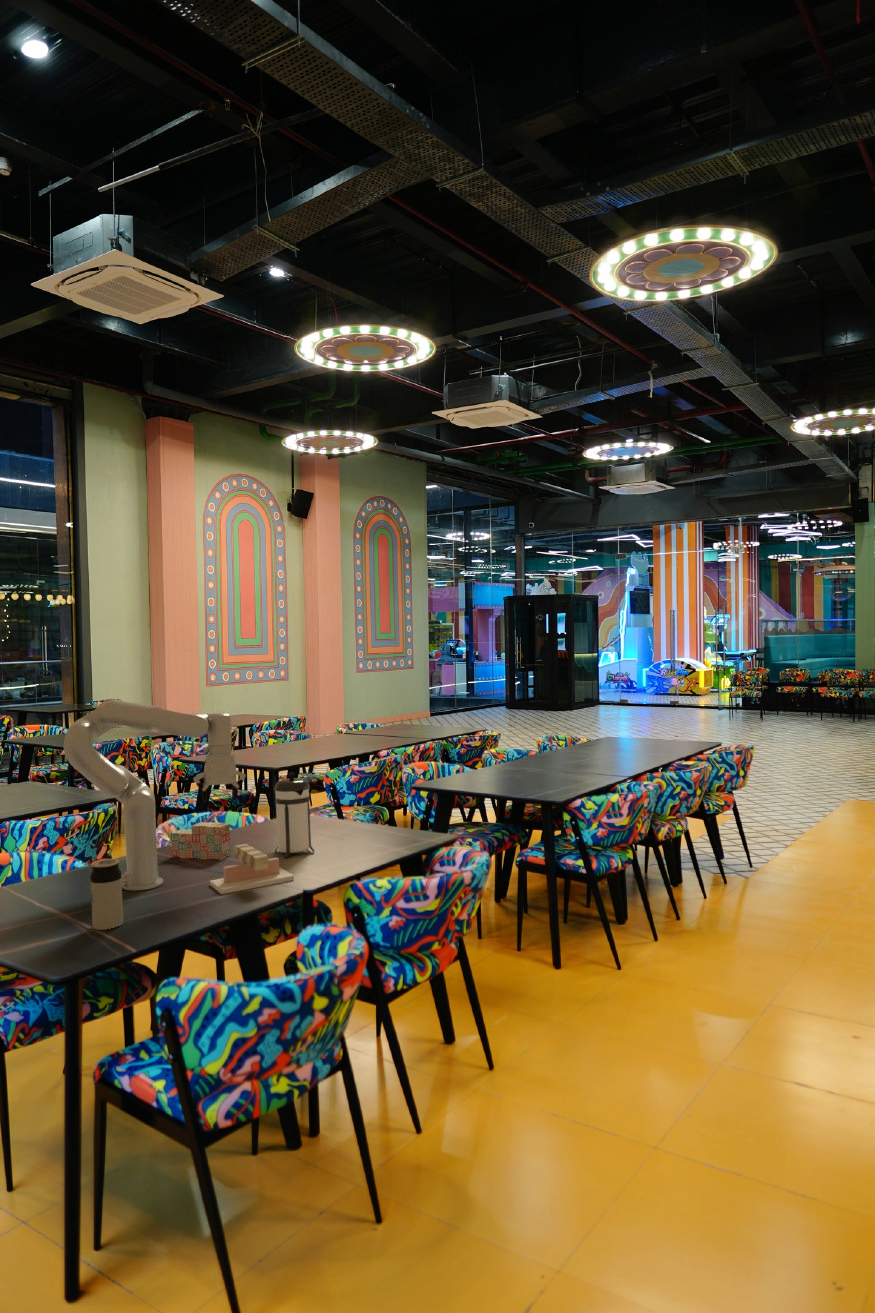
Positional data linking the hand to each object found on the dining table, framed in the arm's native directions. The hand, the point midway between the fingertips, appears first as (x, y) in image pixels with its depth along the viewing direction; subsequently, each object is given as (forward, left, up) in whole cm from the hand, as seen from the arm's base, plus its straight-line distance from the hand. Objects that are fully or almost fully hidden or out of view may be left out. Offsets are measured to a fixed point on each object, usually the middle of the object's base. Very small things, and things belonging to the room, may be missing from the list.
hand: (220, 800), depth 279 cm
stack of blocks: (+1, +30, -26) cm, 40 cm away
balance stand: (+5, -15, -25) cm, 30 cm away
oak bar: (+5, -15, -19) cm, 24 cm away
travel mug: (-42, -30, -26) cm, 57 cm away
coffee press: (+30, +13, -26) cm, 42 cm away
